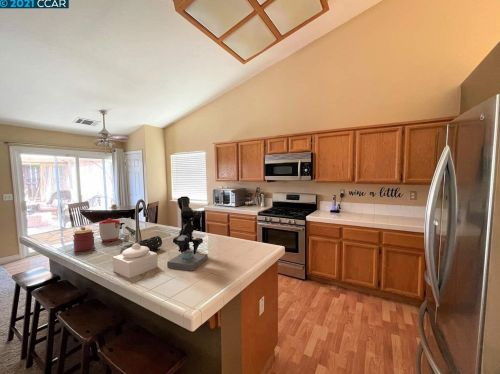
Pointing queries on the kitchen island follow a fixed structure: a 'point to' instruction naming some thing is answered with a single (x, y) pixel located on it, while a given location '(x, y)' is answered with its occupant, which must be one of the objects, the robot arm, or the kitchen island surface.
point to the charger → (188, 254)
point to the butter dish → (135, 261)
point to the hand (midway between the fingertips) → (188, 253)
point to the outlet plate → (187, 261)
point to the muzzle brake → (146, 244)
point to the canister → (83, 240)
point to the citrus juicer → (109, 230)
